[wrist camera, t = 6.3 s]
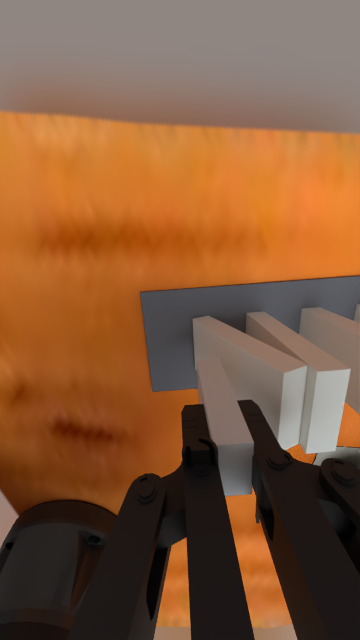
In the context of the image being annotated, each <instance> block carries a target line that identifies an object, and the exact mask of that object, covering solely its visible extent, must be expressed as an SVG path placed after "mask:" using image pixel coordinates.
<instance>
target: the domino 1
mask: <svg viewBox="0 0 360 640" xmlns="http://www.w3.org/2000/svg"><path fill="white" fill-rule="evenodd" d="M193 338H194V356H195V370H196V371H197V360H206V359H220V361H221V363H222V366H223V368H224V371H225V373H226V376H227V378H228V381H229V383H230V385H231V388H232V390H233V393H234V395H235V398H236V400H249V399H251V400H253V401H254V402H255V403H256V404H257V405H259V407H260V409H261V411H262V413H263V415H264V416H265V418H266V421H267V422H268V424H269V426H270V428H271V429H272V431H273V433H274V435H275V437H276V439H277V441H278V443H279V444H280V446H281V448H282V449H284V450H287V449H289V448H291V447H293V446H295V445H297V444H299V438H300V430H301V422H302V414H303V406H304V398H305V390H306V382H307V374H308V366H309V365H308V364H306V363H304V362H302V361H300V360H298V359H296V358H294V357H292V356H290V355H288V354H286V353H284V352H282V351H280V350H278V349H275V348H273V347H271V346H269V345H267V344H265V343H263V342H261V341H259V340H257V339H255V338H253V337H251V336H249V335H247V334H245V333H243V332H241V331H239V330H237V329H235V328H233V327H231V326H229V325H227V324H225V323H223V322H221V321H219V320H217V319H215V318H213V317H211V316H204V317H198V318H193Z"/></svg>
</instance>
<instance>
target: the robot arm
mask: <svg viewBox="0 0 360 640" xmlns="http://www.w3.org/2000/svg"><path fill="white" fill-rule="evenodd" d="M197 376H198V393H199V401H200V404H196V405H185V406H184V408H183V410H182V412H181V414H182V436H183V448H182V459H183V460H182V463H181V465H180V466H179V468H178V469H177V470H176V471H175V472H173V473H171V474H169V475H167V476H165V477H162V478H160V477H159V476H158V475H155V474H153V473H151V474H144V475H142V476H139V477H138V478H137V479H136V480H134V481H133V483H132V484H131V486H130V487H129V489H128V492H127V494H126V497H125V499H124V501H123V504H122V506H121V509H120V511H119V514H118V516H117V517H115V516H114V515H113V514H111V513H109V512H108V511H106V510H104V509H102V508H100V507H97V506H94V505H91V504H87V503H82V502H75V501H55V502H48V503H44V504H40V505H38V506H35V507H33V508H31V509H29V510H27V511H25V512H24V513H23V514H22V515H20V516H19V517H18V519H17V520H16V521H15V523H14V525H13V526H12V528H11V530H10V531H9V533H8V535H7V537H6V538H5V540H4V542H3V544H2V547H1V549H0V640H153V638H154V633H155V628H156V623H157V618H158V612H159V607H160V602H161V597H162V592H163V587H164V581H165V576H166V571H167V566H168V561H169V556H170V551H171V545H173V544H175V543H177V542H178V541H180V540H182V539H184V538H186V537H187V556H188V578H189V599H190V621H191V640H255V639H254V634H253V629H252V625H251V620H250V615H249V610H248V605H247V601H246V596H245V591H244V586H243V581H242V576H241V572H240V567H239V562H238V557H237V552H236V548H235V543H234V538H233V533H232V528H231V523H230V519H229V514H228V509H227V504H226V499H225V496H234V495H246V494H252V486H253V489H254V492H255V495H256V523H259V518H260V521H261V524H262V528H263V531H264V534H265V537H266V540H267V543H268V547H269V550H270V553H271V556H272V559H273V563H274V566H275V569H276V572H277V575H278V578H279V582H280V585H281V588H282V591H283V594H284V598H285V601H286V604H287V607H288V610H289V613H290V617H291V620H292V623H293V626H294V629H295V633H296V636H297V639H298V640H360V470H359V469H357V468H356V467H355V466H353V465H352V464H350V463H348V462H346V461H344V460H342V459H338V458H326V459H325V460H323V461H322V463H321V466H318V465H313V464H309V463H304V462H301V461H298V460H296V459H294V458H293V457H292V456H291V455H290V453H288V452H287V451H285V450H284V449H282V448H281V446H280V444H279V443H278V441H277V439H276V437H275V435H274V433H273V431H272V429H271V428H270V426H269V424H268V422H267V421H266V418H265V416H264V415H263V413H262V411H261V409H260V407H259V405H257V404H256V403H255V402H254V401H253V400H251V399H249V400H236V398H235V395H234V393H233V390H232V388H231V385H230V383H229V381H228V378H227V376H226V373H225V371H224V368H223V366H222V363H221V361H220V359H206V360H197Z"/></svg>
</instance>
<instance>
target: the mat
mask: <svg viewBox="0 0 360 640" xmlns="http://www.w3.org/2000/svg"><path fill="white" fill-rule="evenodd" d="M140 296H141V304H142V312H143V320H144V328H145V336H146V344H147V352H148V359H149V367H150V375H151V383H152V391H153V392H156V391H169V390H182V389H195V388H198V376H197V371H196V370H195V356H194V338H193V318H198V317H204V316H211V317H213V318H215V319H217V320H219V321H221V322H223V323H225V324H227V325H229V326H231V327H233V328H235V329H237V330H239V331H241V332H243V333H245V334H246V313H249V312H262V311H264V312H266V313H267V314H269V315H270V316H272V317H273V318H275V319H276V320H278V321H279V322H281V323H282V324H284V325H285V326H287V327H288V328H290V329H291V330H293V331H294V332H296V333H297V334H299V330H300V320H301V310H302V308H315V307H320V308H323V309H325V310H328V311H330V312H333V313H335V314H338V315H340V316H343V317H345V318H348V319H350V320H353V321H354V318H355V312H356V307H357V304H360V276H347V277H334V278H320V279H307V280H293V281H280V282H267V283H253V284H240V285H226V286H213V287H200V288H186V289H173V290H159V291H146V292H140Z"/></svg>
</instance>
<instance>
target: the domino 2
mask: <svg viewBox="0 0 360 640" xmlns="http://www.w3.org/2000/svg"><path fill="white" fill-rule="evenodd" d="M246 334H247V335H249V336H251V337H253V338H255V339H257V340H259V341H261V342H263V343H265V344H267V345H269V346H271V347H273V348H275V349H278V350H280V351H282V352H284V353H286V354H288V355H290V356H292V357H294V358H296V359H298V360H300V361H302V362H304V363H306V364H308V365H309V366H308V374H307V382H306V390H305V398H304V406H303V414H302V422H301V430H300V438H299V444H300V446H301V447H302V449H303V450H304V452H305V453H306V454H310V453H320V452H330V451H335V450H336V445H337V439H338V434H339V429H340V424H341V418H342V413H343V408H344V403H345V398H346V392H347V387H348V382H349V377H350V371H351V369H350V368H349V367H347V366H346V365H344V364H343V363H341V362H340V361H338V360H337V359H335V358H334V357H332V356H331V355H329V354H328V353H326V352H325V351H323V350H322V349H320V348H319V347H317V346H316V345H314V344H313V343H311V342H309V341H308V340H306V339H305V338H303V337H302V336H300V335H299V334H297V333H296V332H294V331H293V330H291V329H290V328H288V327H287V326H285V325H284V324H282V323H281V322H279V321H278V320H276V319H275V318H273V317H272V316H270V315H269V314H267V313H266V312H264V311H262V312H249V313H246Z"/></svg>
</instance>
